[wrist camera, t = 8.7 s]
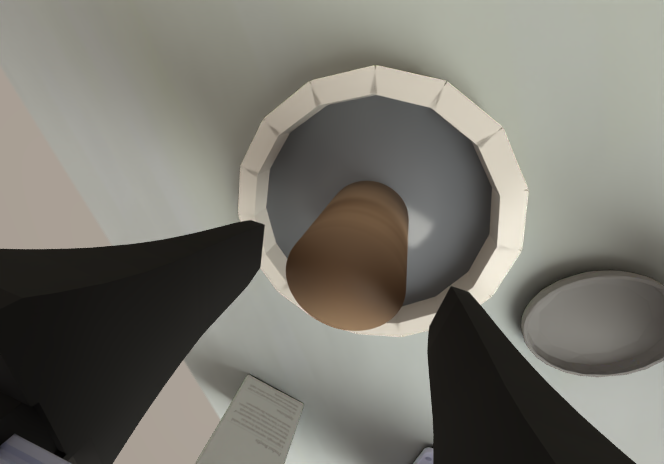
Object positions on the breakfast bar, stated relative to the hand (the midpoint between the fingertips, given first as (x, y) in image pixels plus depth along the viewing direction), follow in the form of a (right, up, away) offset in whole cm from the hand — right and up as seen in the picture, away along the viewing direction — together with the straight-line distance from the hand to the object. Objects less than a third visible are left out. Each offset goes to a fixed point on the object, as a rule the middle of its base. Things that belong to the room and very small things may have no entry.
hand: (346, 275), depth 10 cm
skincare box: (-7, -15, +16) cm, 23 cm away
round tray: (+2, +3, +5) cm, 6 cm away
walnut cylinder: (+1, +2, +5) cm, 5 cm away
